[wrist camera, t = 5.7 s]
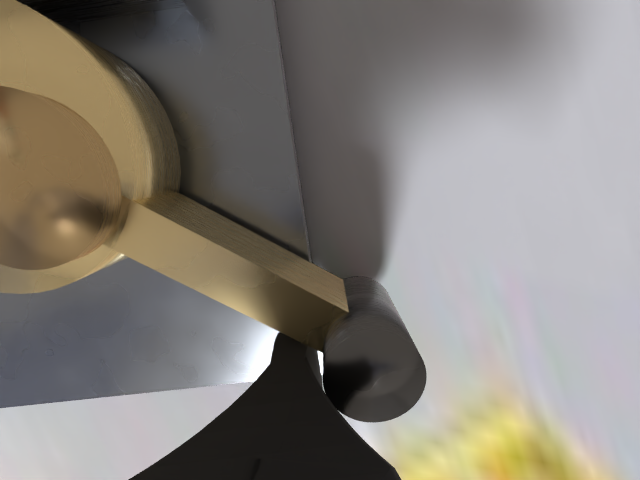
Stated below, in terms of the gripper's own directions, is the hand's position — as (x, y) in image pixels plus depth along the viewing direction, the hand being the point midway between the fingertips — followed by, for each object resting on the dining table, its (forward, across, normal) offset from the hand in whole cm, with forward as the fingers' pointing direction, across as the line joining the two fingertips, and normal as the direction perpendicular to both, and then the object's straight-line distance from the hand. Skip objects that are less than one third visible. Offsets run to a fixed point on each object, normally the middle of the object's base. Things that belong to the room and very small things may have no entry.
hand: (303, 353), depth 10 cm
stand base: (+2, +7, -6) cm, 10 cm away
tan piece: (+1, +3, -5) cm, 6 cm away
